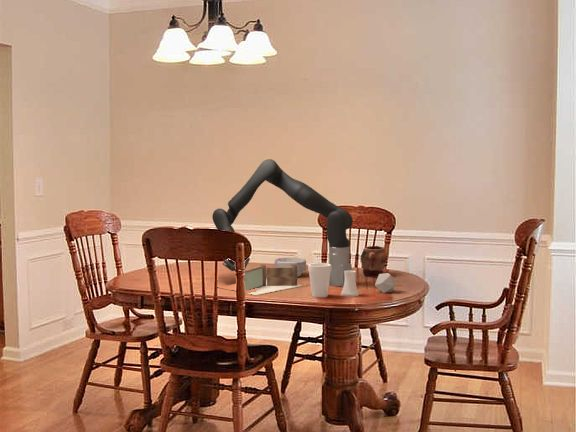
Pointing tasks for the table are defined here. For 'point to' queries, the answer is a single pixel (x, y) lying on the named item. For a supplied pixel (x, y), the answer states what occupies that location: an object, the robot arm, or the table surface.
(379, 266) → the decorative planter
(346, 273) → the salt shaker
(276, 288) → the card
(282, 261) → the paper bowls
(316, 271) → the foam cup
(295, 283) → the fence post and fixed section
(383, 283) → the die
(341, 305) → the table surface
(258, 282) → the green rectangular panel
